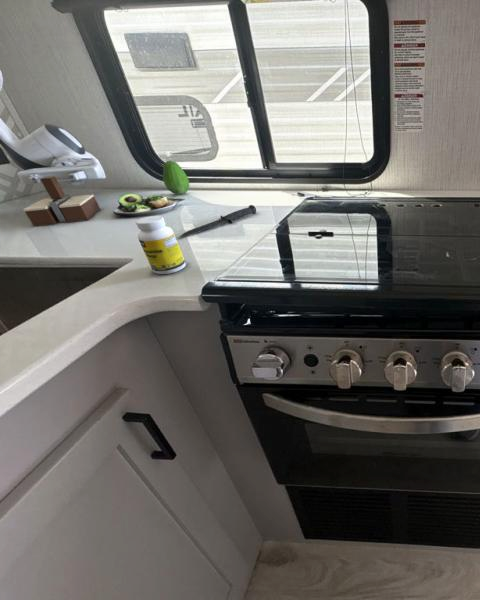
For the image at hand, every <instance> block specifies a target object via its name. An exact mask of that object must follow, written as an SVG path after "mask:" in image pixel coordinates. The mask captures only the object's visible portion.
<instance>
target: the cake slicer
mask: <svg viewBox="0 0 480 600" xmlns="http://www.w3.org/2000/svg"><path fill="white" fill-rule="evenodd" d="M40 180H41V182H42V183H41V184H42V185H43V187H44V189H45V190H46V193H48V196H49V197H50V198H51V199H52V201H50V202H49V204H50V206H51V208H52V209H53V211H54V213H55V214H56V216H57V218H58V220H59V223H68V222H67V220H66V218H65V216H64V215H63V213H62V211H61V209H60V208H59V205H61V204H63V203H64V202H66V201H67V200H69V199H70V198H72V197H71V195H70V194H69V193H65V192H64V189H62V187H61V185H60V182H58V181H57V179H56V178H55V176H49V177H43V178H41V179H40Z"/></svg>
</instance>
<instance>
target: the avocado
mask: <svg viewBox="0 0 480 600" xmlns="http://www.w3.org/2000/svg"><path fill="white" fill-rule="evenodd" d="M162 170H163V171H162V180H163V183H164V186H165V187H166V189H167V190H168V191H169V192H171V193H173V194H174V195H178V196H179V195H185V194H186V193H187V192H188V191H189V188H190V179H189V178H188V176H187V174H186V172H185V171H184V170H183V169H182V167H181V165H179V164H178V163H177V162H176V161H174V160H166V161H165V162H164V164H163V169H162Z"/></svg>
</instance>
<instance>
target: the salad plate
mask: <svg viewBox="0 0 480 600" xmlns="http://www.w3.org/2000/svg"><path fill="white" fill-rule="evenodd" d="M183 201H186V198H179V197H178V198H177V197H176V198H175V197H171V196H167V195H165V196H163V194H161V195H158V194H153V195H150V196H148V197H146V198H145V197H143V196H142V195H140V194H137V193H133V192H132V193H131V192H130V193H129V192H128V193H124V194H122V195H121V196H119V198H118V199H117V202H118V206H117V207H116V208H115V209H114V210H113V214H114V215H115V216H118V217H119V218H123V219H125V218H136V217H137V218H138V217H147V216H150V215H151V216H153V215H157V214H163V213H164V214H165V213H167V212H170V211H173V210H174V209H175V208H176V205H177V204H179V203H180V202H183Z"/></svg>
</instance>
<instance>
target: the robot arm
mask: <svg viewBox="0 0 480 600" xmlns="http://www.w3.org/2000/svg"><path fill="white" fill-rule="evenodd" d="M3 85H4V77H3V73H2V71H1V70H0V92H2V88H3ZM0 146H1V147H2V149H3V150H4V151H5V153H6V154H7V155H8V157H9V158H10V159H11V160H12V161H13V163H14V164H16V165H17V166H18V167H19V168H21V171H18V172H17V176H18V178H19V180H20V181H21V182H22V184H24V185H37V184H43V183H42V182H41V180H40V179H41V178H43V177H49V176H55V178H56V179H57V181H58V183H61V182H62V183H64V184H66V185H70V186H79V185H82V184H86V183H88V182H93V181H100V180H105V179H106V178H107V176H106V173H105V170H104V168H103V166H102V164H101V163H100V161H99V159H98V158H96V156H94V154H92V153H90V152H88V151H86V149H85V146H84V145H83V143H82V142H81V141H80V140H79V139H78V138H77V137H76V136H75V135H74V134H73V133H71V132H70V131H69V130H67V129H65V128H64V127H60V126H59V125H54V124H50V123H45V124H44V125H42V126H40V127H39V128H36V129H35V130H33V131H32V132H31V133H29V134H28V135H26V136H24V137H23V138H21V139H19V137H17V135H16V134H15V133H14V132H13V131H12V130H11V128H10V127H9V126H8V125H7V124H6V123H5V122H4V120H3V119H2V118H1V117H0Z"/></svg>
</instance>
